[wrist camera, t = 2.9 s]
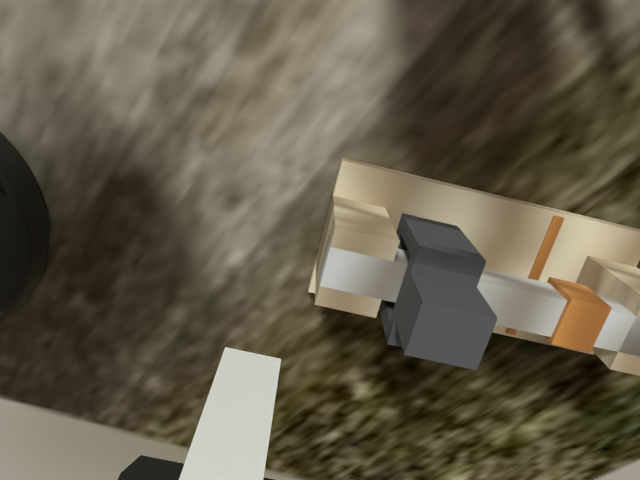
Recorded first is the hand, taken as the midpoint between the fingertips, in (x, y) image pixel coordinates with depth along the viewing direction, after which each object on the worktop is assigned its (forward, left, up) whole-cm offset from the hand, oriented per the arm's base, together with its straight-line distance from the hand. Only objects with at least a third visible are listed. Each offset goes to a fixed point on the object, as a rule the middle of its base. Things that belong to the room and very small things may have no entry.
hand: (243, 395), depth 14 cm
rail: (+11, 0, -17) cm, 20 cm away
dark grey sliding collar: (+7, 0, -14) cm, 15 cm away
